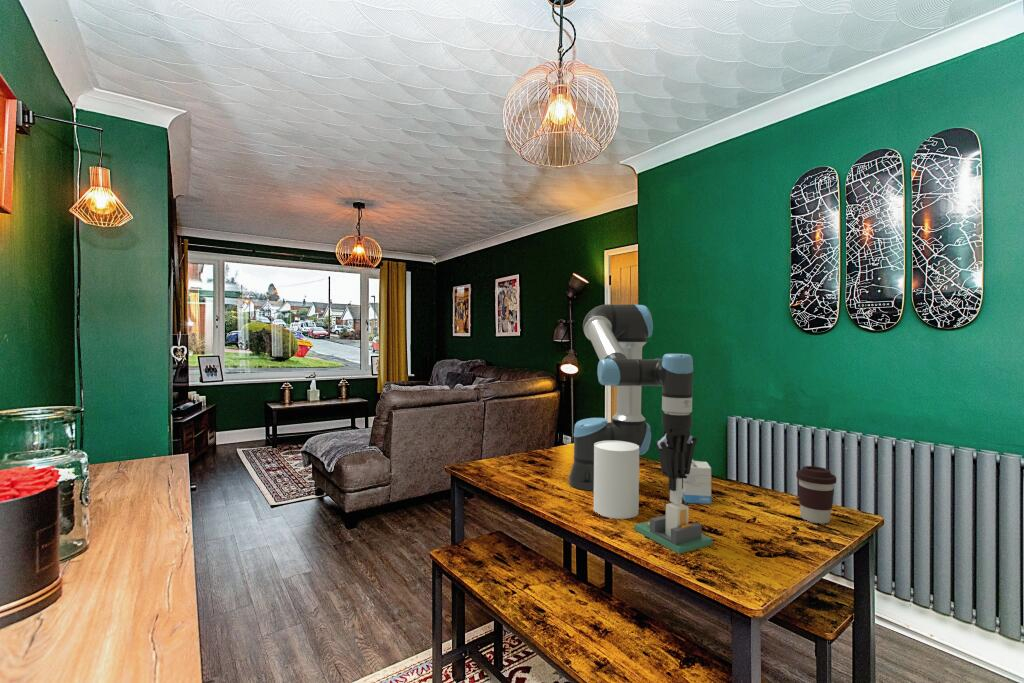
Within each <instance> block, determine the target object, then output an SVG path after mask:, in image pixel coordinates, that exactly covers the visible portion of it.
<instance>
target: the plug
mask: <svg viewBox="0 0 1024 683" xmlns="http://www.w3.org/2000/svg"><path fill="white" fill-rule="evenodd" d="M689 509H690V507H689V506H688V505H686V504H684V503H681V504H676V503H673V502H670V503H666V504H665V515H666V532H665V534H666V535H668V536H670V537H671V529H672V528H676V527H680V526H683V525H687V524H689V522H690V521H689V516H690V515H689V514H690V513H689V512H690V511H689Z"/></svg>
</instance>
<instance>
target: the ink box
mask: <svg viewBox="0 0 1024 683" xmlns="http://www.w3.org/2000/svg"><path fill="white" fill-rule="evenodd" d="M685 469H686V468H685ZM685 476H687V478H686V479H684V478H683V489H682V501H683V502H684V503H687V504H706V505H712V467H711V466H710V464H709V463H708V462H707V461H700V460H699V461H698V460H694V459H693V458H692V463H691V468H690V473H689V474H686V475H685Z"/></svg>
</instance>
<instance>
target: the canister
mask: <svg viewBox="0 0 1024 683" xmlns="http://www.w3.org/2000/svg"><path fill="white" fill-rule="evenodd" d="M639 489H640V455H639V446H638V445H637V444H634V443H630V442H625V441H600V442H596V443H595V444H594V490H593V511H594V512H595V513H596V512H597V513H598V514H597V513H596V514H597V515H599V514H600V516H601V517H605V518H609V519H615V520H616V519H617V520H618V519H619V520H622V519H623V520H624V519H631V518H635V517H637V516H638V515H639V506H640V505H639V504H640V502H639V500H640V498H639V497H640V496H639V495H640V494H639V492H640V490H639Z"/></svg>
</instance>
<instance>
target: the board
mask: <svg viewBox="0 0 1024 683" xmlns="http://www.w3.org/2000/svg"><path fill="white" fill-rule="evenodd" d="M702 528H703V527H702V524H701V523H699V522H692V523H688V524H687V525H683V526H680V527H676V528H672V529H671V537H670V536H668V535H666V534H665V532H666V514H664V515H660V516H655V517H652V518H649V521H644V522H640V523H636V524H634V531H636V532H638V533H639V534H641V535H643V536H644V537H647V538H648V539H650V540H652V541H653V542H656V543H658V544H660V545H662V546H664V547H665V548H667V549H669V550H671V551H673V552H674V553H676V554H678V555H680V554H684V553H687V552H690V551H694V550H698V549H702V548H704V547H708V546H712V545H714V542H713V541H714V539H713V537H711V536H708V535H706V534H704V533H702V531H703V530H702Z"/></svg>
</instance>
